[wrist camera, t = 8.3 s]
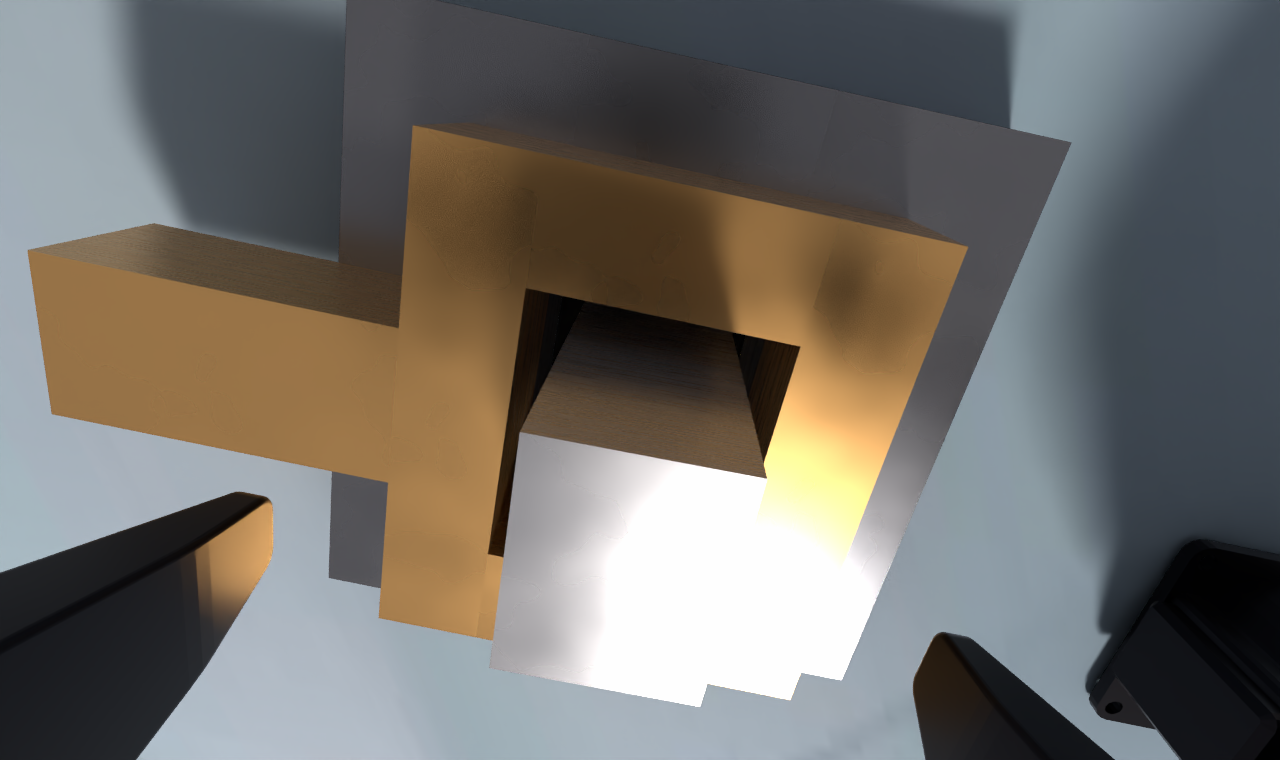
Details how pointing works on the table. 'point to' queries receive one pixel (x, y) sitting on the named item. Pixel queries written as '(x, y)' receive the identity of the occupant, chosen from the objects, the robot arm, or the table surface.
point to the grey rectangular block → (629, 508)
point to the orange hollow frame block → (582, 269)
